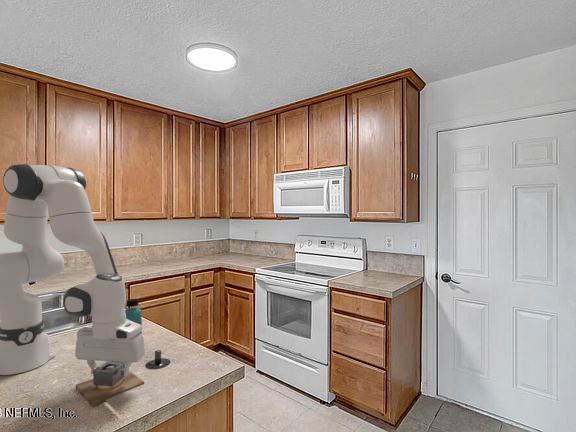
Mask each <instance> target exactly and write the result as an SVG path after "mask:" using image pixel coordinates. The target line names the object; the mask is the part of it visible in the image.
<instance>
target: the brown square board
mask: <svg viewBox="0 0 576 432" xmlns="http://www.w3.org/2000/svg"><path fill="white" fill-rule="evenodd" d="M112 369H114V366H108V367H107V368H106V370H112ZM144 384H145V381H144V380H143V379H141V378H139V377H138V376H136V374H134V373H133V372H131V371H130V370H129V374H128V375H127V376H124V377H123V378H122V379H121V380H120V381H118V382H117V383H116V384H115V385H114V386H99V385H93V378H91V379H89V380H86V381H82V382H80V383H77V384H75V390H76V391H77V392H78V393H79V394H80V395H81V396H82V397H83V398H84V399H85V400H86V402H87V403H88V404H89V405H90V406H91V407H92V408H95V407H98V406H100V405H102V404H105V403H107V402H108V399H110V398H112V397H115V396H118V395H121V394H123V393H125V392H128V391H130V390H132V389H134V388H137V387H139V386H142V385H144Z"/></svg>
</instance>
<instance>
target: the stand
mask: <svg viewBox="0 0 576 432" xmlns="http://www.w3.org/2000/svg"><path fill="white" fill-rule="evenodd" d="M170 364H171V360H170V359H169V358H164V357H162V350H160V349H158V350H155V351H154V359H152V360H149V361H148V362H146V363H145V366H144V367H145V368H146V369H148V370H159V369H160V370H161V369H164V368H166V367H167V366H169V365H170Z"/></svg>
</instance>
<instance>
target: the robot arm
mask: <svg viewBox="0 0 576 432" xmlns="http://www.w3.org/2000/svg"><path fill="white" fill-rule="evenodd" d="M2 177H3V178H2V184H3V187H4V190H5V191H6V193H7V194H9V195H8V198H7V202H6V208H5V216H4V217H5V218H4V224H3V226H4V227H3V234H4V237H5V238H7V239H8V240H9V241H11V242H13V243H15V244H19V245H21V246H22V249H21V251H15V252H5V253H4V252H3V253H0V376H9V375H10V376H11V375H15V374H22V373H24V372H28V371H33V370H34V369H37V368H39V367H41V366H43V365H45V364H46V363H48V361H49V360H51V359H53V358H55V357H56V352H54V351H51V346H50V345H51V344H50V336H49V334H47V333H46V332H44V330H45V323H44V319H43V306H42V305H43V304H42V303H43V302H42V300H41V298H40V296H38V295H36V294H33V293H29V292H25V291H24V290H23V284H29V283H34V282H35V283H36V282H41V281H47V280H49V279H52V278H55V277H58V276H60V274H61V273H62V272H63V270H64V268H65V259H64V257H63V255H62V254H61V253H60V252H59V251H57V250H56V249H55V248H53V247H52V245H51V244H50V242H49V240H48V237H47V236H48V235H47V232H48V231H47V230H48V229H47V227H48V218H49V226H50V230H51V232H52V234H53V236H54V238H55V239H57V240H58V241H59V242H61V243H62V244H65V245H67V246H70V247H75V248H78V249H81V250H83V251H85V252H86V253H87V254H88V256H90V259H91V261H92V264H93V268H94V270H95V273H96V275H95V276H94V277H93V278H92V279H90V280H88V281H86V282H82V283H81V284H78V285H74V286H72V287H69V288H68V289H67V291H66V292H65V294H64V296H63V302H62V303H63V304H62V305H63V309H64V311H65V312H66V313H67V314H68V315H69V316H70V317H73V318H85V317H88V316H89V317H92V322H91V323H92V324H91V325H92V327H86V326H85V327H81V328H79V329H78V331H77V333H76V343H75V350H74V351H75V352H74V356H75V357H76V360H78V361H79V360H80V361H81V360H83V361H86V363H87V365H88V367H89V368H90V373H91V375H93V371H95V370H96V369H98V368H99V367H100V366H101V365H100V366H99V365H97V363H96V361H98V362H99V361H100V362H118V363H124V365H125V368H123V369H122V370H121V376H127V375H128V374H129V371H130V367H131V365H132V364H133V363H138V362H140V360H141V359H143V357H144V356H145V353H146V351H145V350H146V348H145V338H144V336H143V333H142V334H141V333H140V332H141V331H142V332H143V326H142V325H143V324H142V325H140V324H138V323H135V322H133V321H130V320H128V319H126V313H125V310H126V308H125V307H126V304H127V299H126V298H127V291H126V284H125V280H124V278H123V276H122V275H120V274H119V273H118V272H117V271H118V270H117V268H116V264H115V260H114V257H113V256H112V252H111V249H110V247H109V243H108V241H107V239H106V237H105V235H104V234H103V233H102V232H101V231H100V230H99V228H98V227H97V225H96V223H95V221H94V216H93V212H92V208H91V204H90V200H89V197H88V193H87V192H86V188H87V180H86V176H85V175H84V174H83V172H82V171H80V170H78V169H76V168H73V167H63V166H59V165H52V164H51V165H50V164H46V165H45V164H27V163H20V164H19V163H18V164H13V165H12V164H11V165H10V166H9V167H7V169H5V171H4V173H3V176H2Z"/></svg>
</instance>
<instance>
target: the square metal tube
mask: <svg viewBox="0 0 576 432" xmlns="http://www.w3.org/2000/svg"><path fill="white" fill-rule="evenodd" d="M108 366H114V369H112V370H106V368H107V367H108ZM125 366H126V365H124V362H117V361H105V363H103V364H102V365H100V367H99V368H98V369H96V370H95V371H93V374H92V376H93V378H92V379H93V385H99V386H114V385H115V384H116V383H117V382H118V381H120V380H121V379H122V378H123V377H124V376H121V370H122V369H123V368H125Z"/></svg>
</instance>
